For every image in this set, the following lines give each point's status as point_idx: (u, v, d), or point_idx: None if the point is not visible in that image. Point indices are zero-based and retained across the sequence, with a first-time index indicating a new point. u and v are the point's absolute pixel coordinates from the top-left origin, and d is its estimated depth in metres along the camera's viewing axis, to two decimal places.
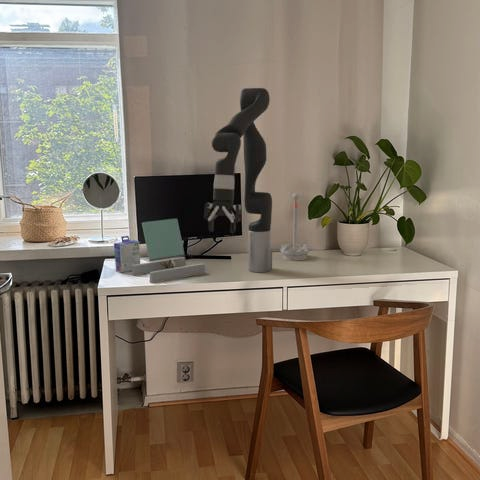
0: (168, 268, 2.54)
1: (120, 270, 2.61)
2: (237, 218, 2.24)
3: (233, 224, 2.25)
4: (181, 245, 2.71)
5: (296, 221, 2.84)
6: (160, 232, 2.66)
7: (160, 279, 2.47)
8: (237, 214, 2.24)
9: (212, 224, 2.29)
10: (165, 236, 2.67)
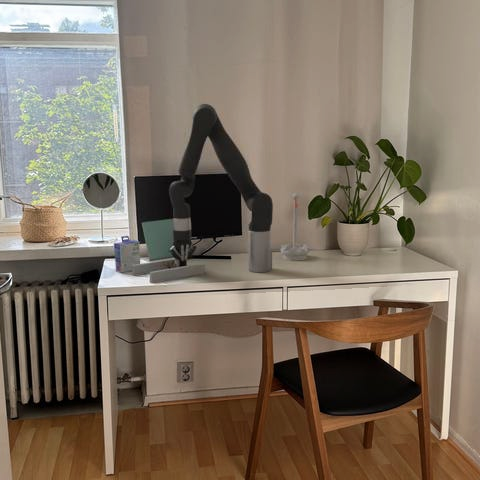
0: None
1: (120, 270, 2.61)
2: None
3: None
4: None
5: (296, 221, 2.84)
6: (160, 232, 2.66)
7: (160, 279, 2.47)
8: None
9: None
10: (165, 236, 2.67)
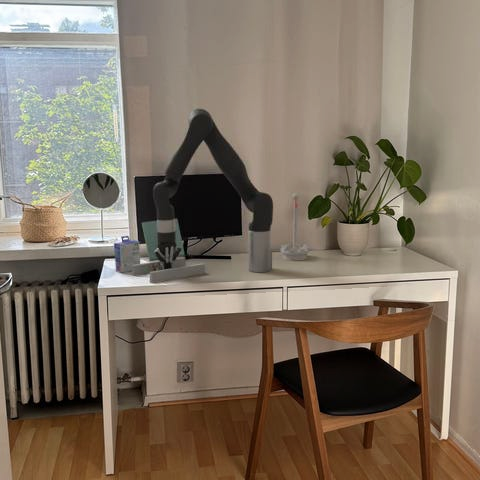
0: (157, 270, 2.49)
1: (120, 270, 2.61)
2: None
3: None
4: (181, 245, 2.71)
5: (296, 221, 2.84)
6: None
7: (160, 279, 2.47)
8: None
9: None
10: None
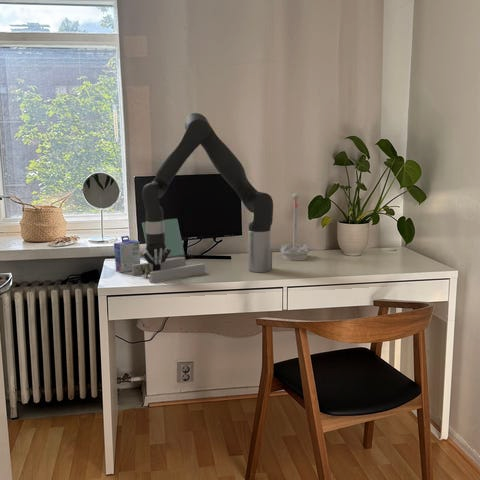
0: (147, 272, 2.47)
1: (120, 270, 2.61)
2: None
3: None
4: (181, 245, 2.71)
5: (296, 221, 2.84)
6: None
7: (160, 279, 2.47)
8: None
9: None
10: (165, 236, 2.67)
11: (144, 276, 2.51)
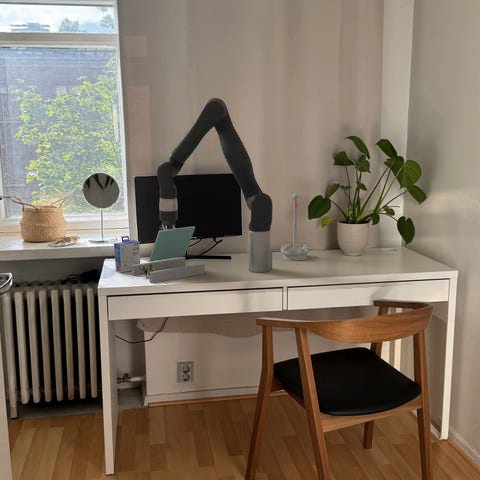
0: None
1: (120, 270, 2.61)
2: None
3: None
4: (186, 248, 2.68)
5: (296, 221, 2.84)
6: (171, 239, 2.58)
7: (160, 279, 2.47)
8: None
9: None
10: (175, 242, 2.61)
11: (147, 276, 2.50)
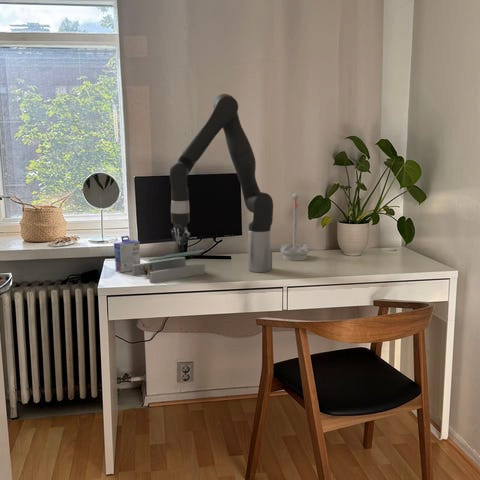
0: None
1: (120, 270, 2.61)
2: (181, 241, 2.52)
3: (180, 246, 2.54)
4: None
5: (296, 221, 2.84)
6: None
7: (160, 279, 2.47)
8: (183, 239, 2.51)
9: None
10: None
11: (147, 276, 2.50)
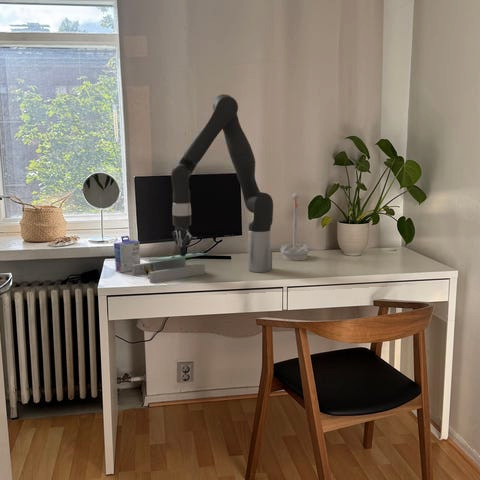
0: None
1: (120, 270, 2.61)
2: (183, 244, 2.51)
3: (182, 248, 2.53)
4: None
5: (296, 221, 2.84)
6: None
7: (160, 279, 2.47)
8: (184, 242, 2.50)
9: None
10: None
11: (148, 276, 2.51)
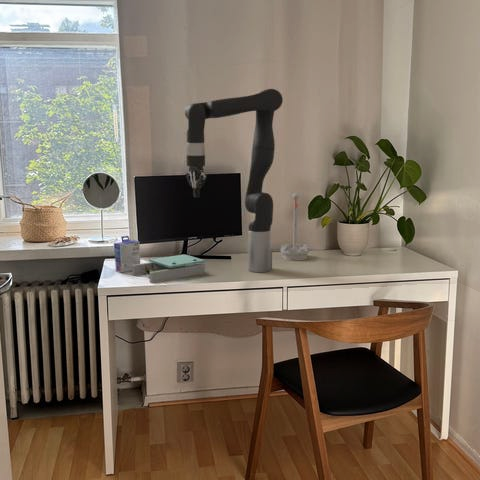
0: None
1: (120, 270, 2.61)
2: (197, 184, 2.49)
3: (196, 189, 2.51)
4: None
5: (296, 221, 2.84)
6: None
7: (160, 279, 2.47)
8: (199, 182, 2.48)
9: None
10: None
11: (149, 276, 2.51)
